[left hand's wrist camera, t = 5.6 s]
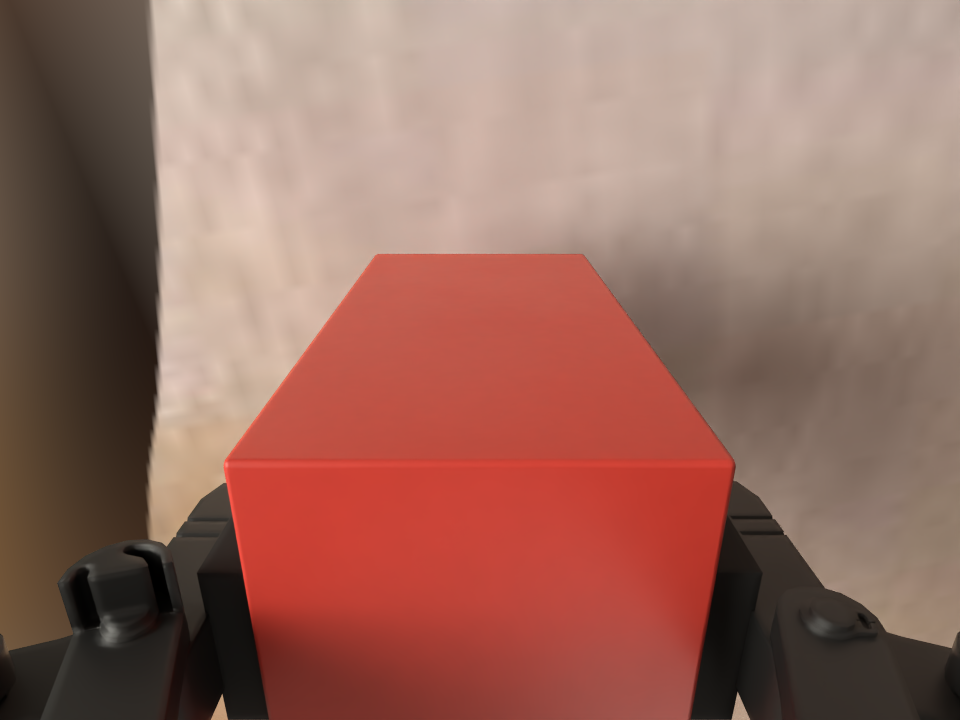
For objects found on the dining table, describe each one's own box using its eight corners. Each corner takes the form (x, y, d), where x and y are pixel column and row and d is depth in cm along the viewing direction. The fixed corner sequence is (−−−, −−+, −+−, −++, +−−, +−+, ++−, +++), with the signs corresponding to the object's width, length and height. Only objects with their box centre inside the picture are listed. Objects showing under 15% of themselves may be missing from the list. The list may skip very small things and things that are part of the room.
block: (571, 452, 20) (673, 828, 9) (387, 452, 20) (286, 828, 9) (584, 253, 17) (739, 462, 7) (375, 253, 17) (218, 461, 7)
